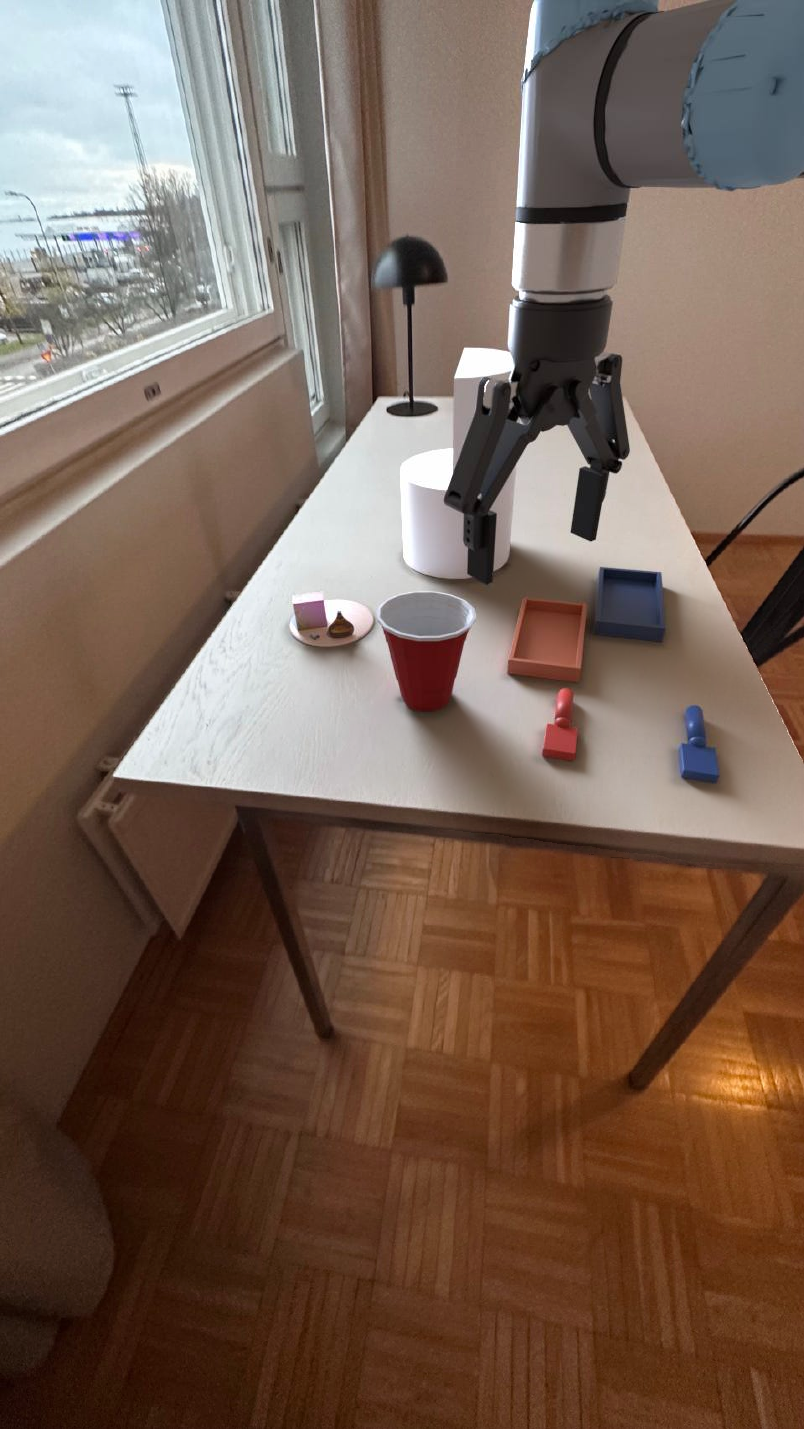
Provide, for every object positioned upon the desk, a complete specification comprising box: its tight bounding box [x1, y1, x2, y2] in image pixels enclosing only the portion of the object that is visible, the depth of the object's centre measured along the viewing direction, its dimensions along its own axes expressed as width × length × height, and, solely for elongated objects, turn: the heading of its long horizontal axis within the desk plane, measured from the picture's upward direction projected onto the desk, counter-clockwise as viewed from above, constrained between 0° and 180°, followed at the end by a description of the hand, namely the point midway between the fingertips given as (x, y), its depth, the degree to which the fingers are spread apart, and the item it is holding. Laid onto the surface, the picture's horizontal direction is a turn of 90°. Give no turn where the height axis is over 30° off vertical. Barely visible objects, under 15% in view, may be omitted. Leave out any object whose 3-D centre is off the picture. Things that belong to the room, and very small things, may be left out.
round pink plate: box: [288, 590, 375, 648], centre depth 88 cm, size 12×12×4 cm
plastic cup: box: [376, 590, 477, 713], centre depth 72 cm, size 11×11×12 cm
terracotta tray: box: [506, 597, 588, 683], centre depth 82 cm, size 9×15×2 cm, turn 165°
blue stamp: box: [678, 704, 720, 784], centre depth 67 cm, size 11×3×2 cm, turn 165°
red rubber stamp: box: [541, 687, 579, 762], centre depth 70 cm, size 11×3×2 cm, turn 165°
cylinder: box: [399, 347, 521, 580], centre depth 94 cm, size 17×17×28 cm
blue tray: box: [593, 566, 666, 643], centre depth 88 cm, size 9×15×2 cm, turn 165°
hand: (533, 556), depth 61 cm, fingers open, 13 cm apart
